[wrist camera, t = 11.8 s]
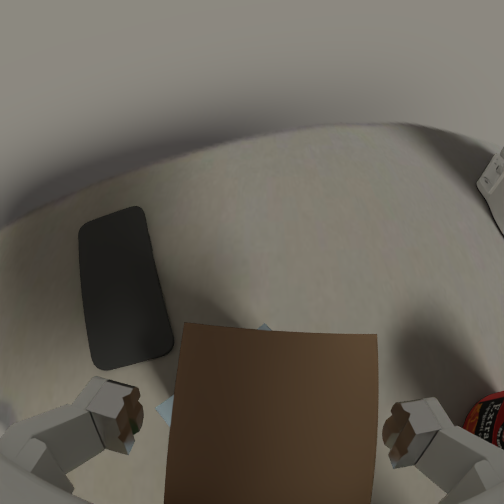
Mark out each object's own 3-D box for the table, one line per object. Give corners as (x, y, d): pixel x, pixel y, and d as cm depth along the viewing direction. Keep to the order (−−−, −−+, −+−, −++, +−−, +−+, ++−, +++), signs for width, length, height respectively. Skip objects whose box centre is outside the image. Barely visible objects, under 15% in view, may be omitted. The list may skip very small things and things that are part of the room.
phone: (93, 372, 19) (77, 225, 26) (98, 374, 20) (80, 229, 27) (177, 350, 21) (142, 202, 28) (179, 352, 22) (144, 207, 29)
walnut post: (302, 380, 15) (377, 334, 6) (297, 457, 13) (368, 512, 4) (219, 374, 15) (184, 322, 6) (212, 451, 13) (163, 507, 4)
